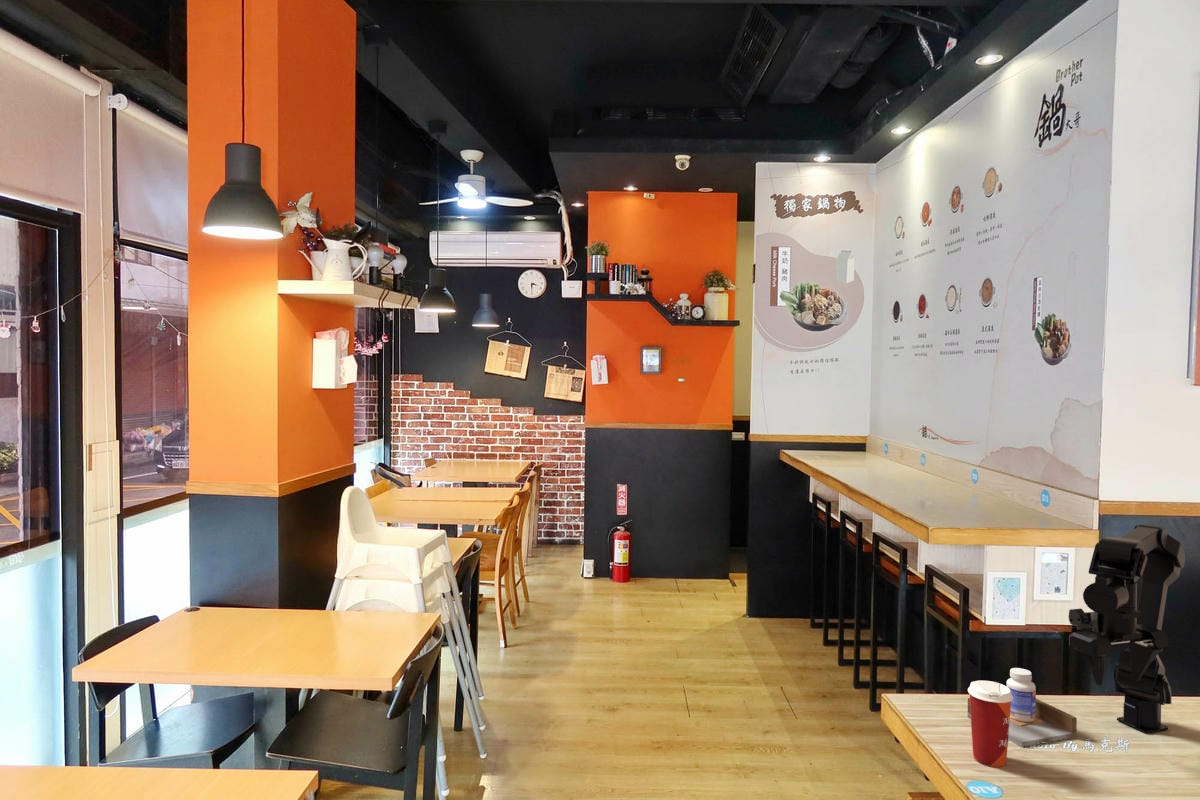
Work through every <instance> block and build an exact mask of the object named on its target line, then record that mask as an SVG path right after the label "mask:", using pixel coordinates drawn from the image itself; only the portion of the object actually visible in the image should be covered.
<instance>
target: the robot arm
mask: <svg viewBox="0 0 1200 800" xmlns="http://www.w3.org/2000/svg"><path fill="white" fill-rule="evenodd" d="M1134 526H1135V527H1134V529H1132V530H1130V531H1128V532H1127V533H1126V534H1124V535H1122V536H1121V537H1113V536H1112V537H1111V536H1109V537H1102V538H1100V540H1099V541H1098V542H1096V544H1095V545H1094V546H1095V547H1094V548H1093V554H1092V558H1091V561H1090V565H1089V569H1088V574H1089V575H1090V574H1091V575H1095V577H1094V582H1092V583H1090V584H1089V585H1087V586H1086V587H1085V588H1084V590H1083V592H1082V600H1083V601H1084V603H1085V605H1086V606H1087V608H1089V609H1090V610H1091V611H1088V612H1085V611H1084V610H1083V608H1071V609H1069V611H1068V622H1069V624H1070V625H1071V626H1075V627H1076V629H1077V630H1081V631H1073V632H1072V633H1070V634H1069V635H1068V645H1069V647H1071V648H1074V649H1075V651H1077V652H1080V653H1081V654H1082V655H1083V656H1084V657H1085V659H1086V661H1087V663H1088V665H1089V668H1090V670H1091V671H1090V672H1091V674H1092V676H1093V679H1094V681H1095V684H1096V685H1098V686H1099V687H1102V686H1104V683H1105V681H1106V677H1107V676H1108V671H1109V668H1110V665H1111V664H1110V663H1111V660H1112V657H1113V655H1111V654H1109V653H1110V652H1111V651H1112V646H1114V645H1121V644H1126V646H1127V648H1126V649H1122V650H1121V651H1120V652H1119V657H1118V663H1116V664H1115V665H1114V669H1113V678H1114V679H1113V680H1114V687H1115V692H1116V693H1118V694H1122V695H1124V698H1123V699H1124V701H1123V712H1122V713H1123V716H1119V717H1116V720H1117V721H1118V722H1120V723H1123V724H1124V725H1126V726H1129V727H1130V728H1133V729H1135V730H1136V731H1137V730H1138V731H1140V732H1142V733H1144V734H1152V733H1157V732H1162V731H1166V730H1169V726H1167V725H1166V724H1163V723H1162V706H1165V705H1172V698H1173V697H1172V687H1171V686H1170V683H1169V681H1168V678H1167V676H1166V668H1165V666H1164V664H1163V662H1162V660H1161V658H1160V656H1159V653H1160V652H1163V649H1164V648H1165V647H1169V636H1168V635H1167V634H1166V632H1165V631H1164V630H1162V628H1163V621H1164V615H1165V609H1166V602H1167V595H1168V590H1169V589H1168V588H1169V586H1171V585H1172V584H1173V583H1174V582H1175V581H1176V580H1177V579H1179V577H1180V575H1181V570H1182V569H1183V568H1184V567H1185V563H1186V554H1185V551H1184V548H1183V546H1182V543H1181V542H1180V541H1179V540H1177V539H1176V538H1174V537H1172V536H1171V535H1170V534H1169V533H1168V532H1167V530H1166V528H1163V527H1162V526H1160V525H1159V526H1157V525H1150V524H1136V525H1134ZM1139 578H1141V583H1140V590H1139V595H1138V580H1139ZM1138 596H1139V597H1138ZM1137 603H1138V604H1137ZM1083 629H1091V631H1089V630H1083ZM1092 631H1093V632H1092ZM1094 632H1095V633H1094ZM1098 633H1100V634H1101V635H1100V634H1098Z"/></svg>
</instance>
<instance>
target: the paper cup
mask: <svg viewBox="0 0 1200 800" xmlns="http://www.w3.org/2000/svg"><path fill="white" fill-rule="evenodd" d="M967 692H968V693H969V698H970V711H971V718H970V728H971V745H972V756H973V759H974V760H975V761H976V762H977V763H978V764H980V765H983V766H986V767H990V768H1002V767H1004V766H1006V764H1007V756H1008V745H1009V740H1008V736H1009V723H1010V710H1011V701H1012V700H1013V696H1012V694H1011V691H1010V689H1009V688H1008V687H1007V685H1004V684H1002V683H999V682H997V681H992V680H991V681H990V680H982V679H981V680H975V681H974V680H973V681H971V682H970V685H969V687H968V688H967Z"/></svg>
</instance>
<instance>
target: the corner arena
mask: <svg viewBox="0 0 1200 800" xmlns="http://www.w3.org/2000/svg"><path fill="white" fill-rule="evenodd" d="M967 718H969V719H971V711H970V697H967ZM1077 720H1078V718H1077V717H1076V716H1074V715H1073V714H1070V713H1068V712H1066V711H1064V710H1061V709H1060V708H1057V707H1055V706H1053V705H1050V704H1049V703H1046V702H1045V701H1043V700H1040V699H1038V698H1036V718H1035V720H1034V721H1032V722H1023V721H1018V720H1015V719H1012V718H1010V723H1009V736H1008V741H1010V742H1012V743H1014V744H1015V743H1016V744H1015V745H1017V746H1019V745H1020V746H1019V747H1020V748H1024V747H1023V746H1026V747H1029V746H1028V745H1031V746H1034V744H1037V745H1039V744H1038V743H1042V742H1048V743H1050V742H1049V741H1053V742H1058V741H1057V740H1059V741H1064V740H1068V738H1070V739H1075V738H1077V733H1078V731H1077V729H1078V728H1077V727H1078V726H1077V723H1078V721H1077ZM1074 737H1075V738H1074ZM1063 739H1064V740H1063ZM1042 744H1043V743H1042Z"/></svg>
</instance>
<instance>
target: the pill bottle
mask: <svg viewBox="0 0 1200 800" xmlns="http://www.w3.org/2000/svg"><path fill="white" fill-rule="evenodd" d="M1032 675H1033V674H1032V672H1031V671H1030V670H1028V669H1024V668H1021V667H1012V668H1010V670H1009V676H1010V677H1009V678H1008V679H1007V680H1006V686H1007V687H1008V688H1009V689H1010V691H1011V694H1012V696H1013V700H1012V701H1011V710H1010V718H1012V719H1015V720H1018V721H1023V722H1032V721H1034V720H1035V718H1036V699H1037V697H1036V695H1037V693H1036V691H1037V687H1036V684H1035V683H1034V682H1033V681H1032V680H1033V677H1032Z"/></svg>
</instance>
